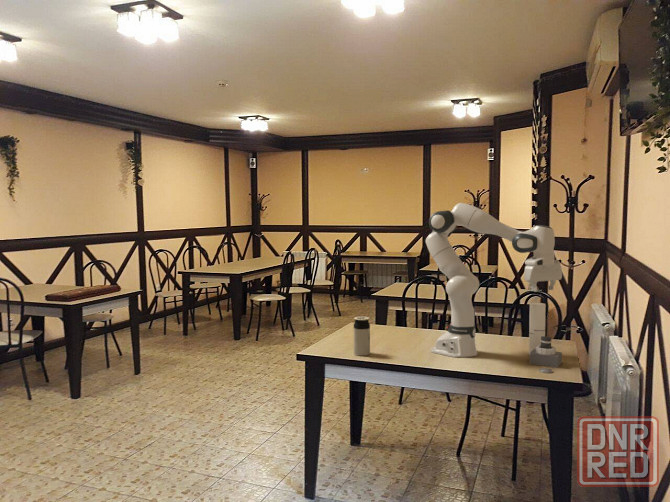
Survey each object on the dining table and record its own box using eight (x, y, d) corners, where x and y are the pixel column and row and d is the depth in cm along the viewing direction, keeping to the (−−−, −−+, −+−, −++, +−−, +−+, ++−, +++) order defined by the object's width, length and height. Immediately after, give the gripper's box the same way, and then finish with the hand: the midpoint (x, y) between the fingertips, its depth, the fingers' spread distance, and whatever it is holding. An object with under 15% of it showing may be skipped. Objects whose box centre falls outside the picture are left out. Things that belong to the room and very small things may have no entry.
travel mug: (351, 355, 250) (351, 318, 249) (356, 351, 258) (356, 316, 257) (367, 356, 247) (367, 319, 246) (371, 352, 255) (371, 316, 254)
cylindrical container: (543, 357, 243) (544, 305, 242) (527, 355, 247) (528, 304, 245) (545, 354, 249) (546, 303, 248) (530, 352, 253) (531, 302, 252)
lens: (545, 354, 230) (546, 338, 230) (538, 351, 234) (538, 336, 234) (553, 353, 232) (553, 338, 232) (545, 350, 236) (545, 335, 236)
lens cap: (538, 372, 220) (538, 370, 220) (541, 369, 225) (541, 367, 225) (550, 374, 218) (550, 372, 218) (553, 371, 222) (553, 369, 222)
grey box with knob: (529, 363, 233) (529, 347, 233) (534, 359, 241) (534, 343, 240) (557, 367, 226) (557, 351, 226) (561, 363, 234) (562, 346, 233)
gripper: (554, 259, 241) (554, 288, 241) (522, 261, 232) (521, 291, 233) (565, 260, 235) (565, 290, 236) (532, 262, 226) (532, 293, 227)
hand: (543, 290), depth 234 cm, fingers open, 8 cm apart
